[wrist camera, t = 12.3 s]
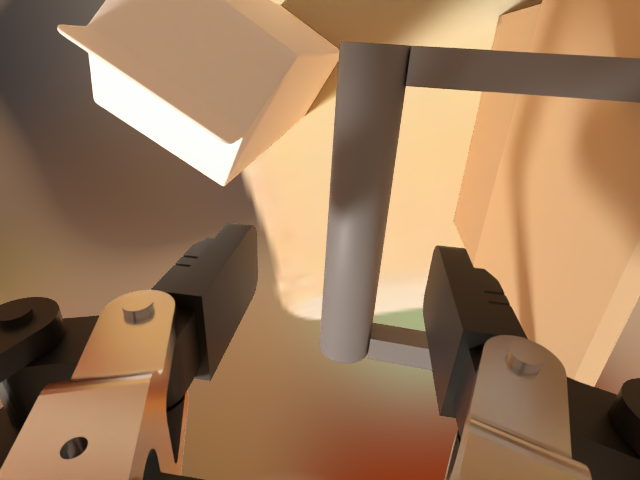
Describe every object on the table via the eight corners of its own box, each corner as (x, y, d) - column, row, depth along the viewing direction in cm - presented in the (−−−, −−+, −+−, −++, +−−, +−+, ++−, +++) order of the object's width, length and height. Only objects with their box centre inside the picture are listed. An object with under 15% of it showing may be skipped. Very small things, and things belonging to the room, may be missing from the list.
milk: (279, 4, 29) (78, -98, 10) (345, 53, 30) (280, 50, 11) (242, 76, 32) (23, 111, 12) (303, 119, 33) (190, 217, 13)
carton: (499, 15, 28) (555, -1, 19) (712, 26, 26) (882, 13, 17) (453, 220, 35) (478, 279, 26) (619, 237, 33) (706, 305, 25)
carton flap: (556, -1, 19) (378, -7, 20) (839, -102, 6) (330, -101, 8) (478, 279, 26) (351, 261, 27) (543, 487, 14) (303, 434, 15)
